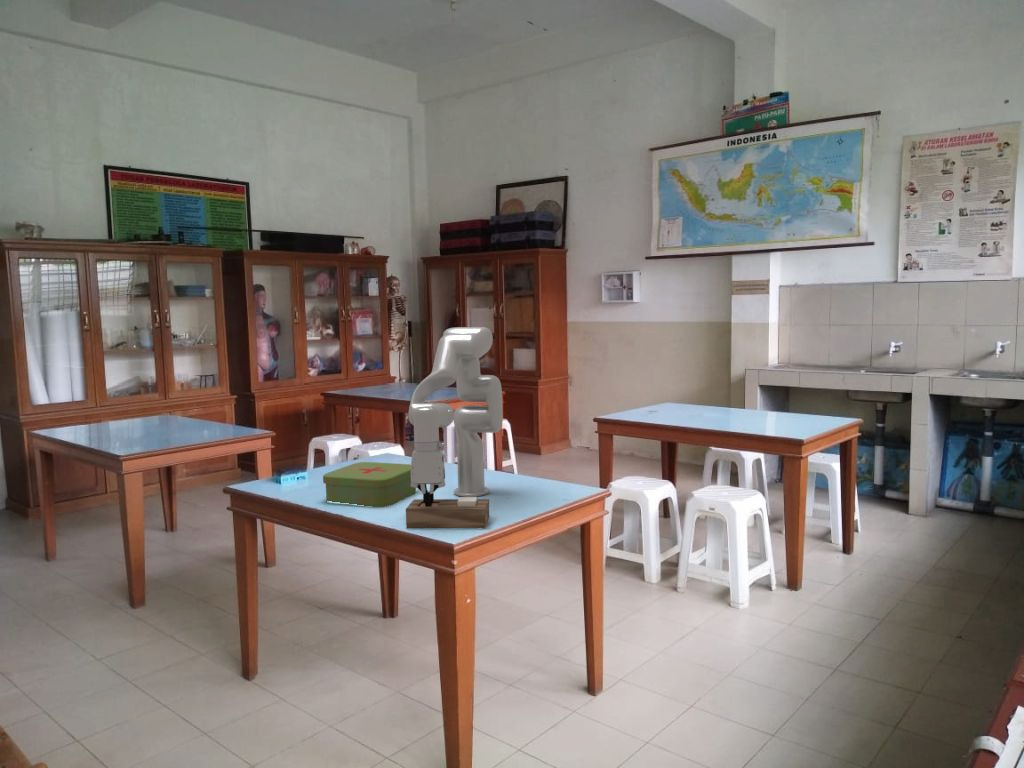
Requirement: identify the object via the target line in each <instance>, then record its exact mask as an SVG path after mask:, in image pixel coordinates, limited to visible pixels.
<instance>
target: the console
mask: <svg viewBox="0 0 1024 768" xmlns="http://www.w3.org/2000/svg"><path fill="white" fill-rule="evenodd" d="M458 500H459V498H455V499H454V498H449V499H448V498H446V499H445V498H444V499H443V498H439V499H438V498H434V503H439V504H438V506H437V507H420V505H421V504H422V503H423V498H421V499H418V498H416V499H415V498H414V499H413V500H412V501H411V502H410V503H409V505H408V506H407V507H406V508H405V529H406V528H482V529H483V530H484V529H486V528H487V525H488V523H489V521H490V516H491V515H490V499H489V498H477V506H458V503H457V501H458Z"/></svg>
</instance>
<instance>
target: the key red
mask: <svg viewBox="0 0 1024 768" xmlns="http://www.w3.org/2000/svg"><path fill="white" fill-rule="evenodd" d="M438 504H439V503H432V505H431V507H437V506H438ZM420 507H425V503H422V504H421V505H420ZM427 507H429V506H427Z"/></svg>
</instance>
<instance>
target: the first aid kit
mask: <svg viewBox="0 0 1024 768" xmlns="http://www.w3.org/2000/svg"><path fill="white" fill-rule="evenodd" d="M322 482H323V484H325V495H326V496H325V499H326V502H327V501H332V502H340V503H349V504H357V505H364V506H363V507H365V506H373V507H372V508H386V507H390V506H392V505H394V504H396V502H397V503H398V501H399V502H400V500H401V501H402V500H405V499H407V498H409V497H411V496H413V495H415V494H416V493H417V488H414V487H411V463H409V464H407V463H406V464H405V463H393V462H391V463H389V462H377V461H376V462H370V461H365V462H364V461H362V462H356V463H352V464H349V465H346V466H344V467H340V468H338V469H335V470H331V471H328V472H326V473H324V474H323V475H322ZM389 505H390V506H389ZM385 506H386V507H385Z"/></svg>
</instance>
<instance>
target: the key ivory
mask: <svg viewBox="0 0 1024 768" xmlns="http://www.w3.org/2000/svg"><path fill="white" fill-rule="evenodd" d="M458 499H459V500H458V501H457V503H458V506H477V499H478V496H475V497H464V496H459V498H458Z"/></svg>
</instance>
